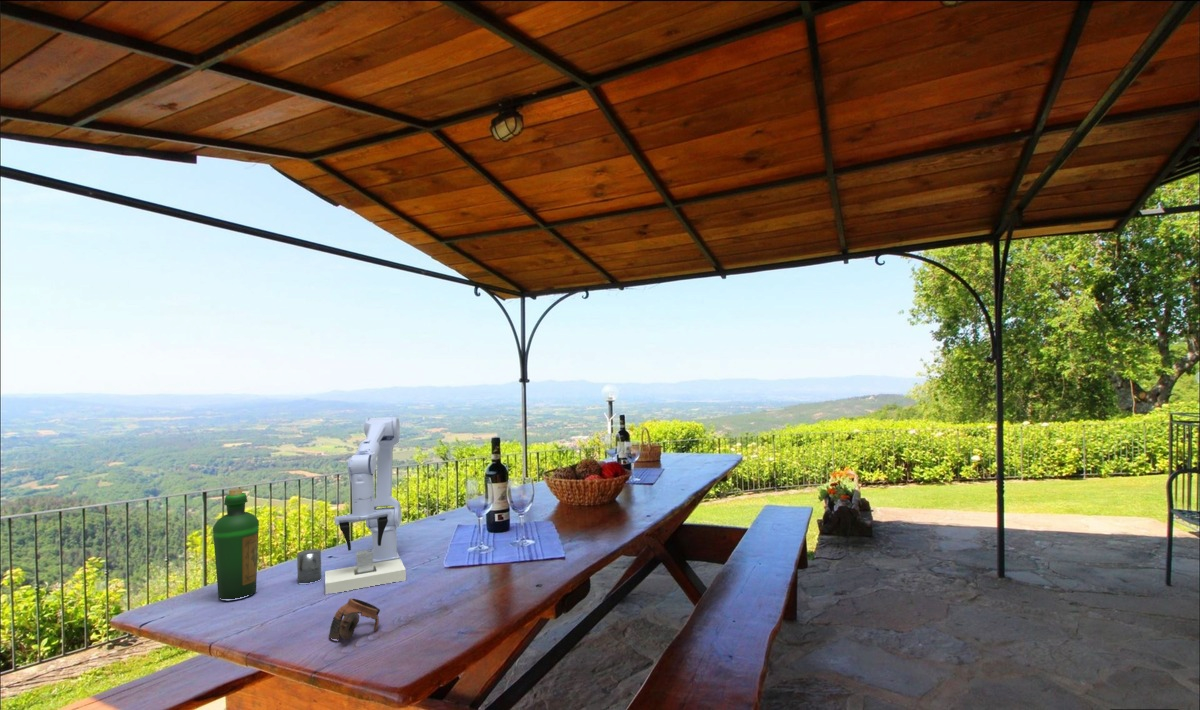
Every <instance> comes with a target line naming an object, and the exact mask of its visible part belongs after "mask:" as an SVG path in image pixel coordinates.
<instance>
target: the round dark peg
mask: <svg viewBox="0 0 1200 710" xmlns="http://www.w3.org/2000/svg"><path fill="white" fill-rule="evenodd" d="M296 559H297V560H296V561H297V562H296V565H297V571H296V573H297V584H298V583H310V582H315V581H318V580H320V579H321V578H322V549H319V548H312V549H311V548H310V549H306V550H302V551H299V552H298V553H296ZM321 580H322V579H321ZM321 580H320V581H321ZM318 582H319V581H318Z"/></svg>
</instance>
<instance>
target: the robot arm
mask: <svg viewBox="0 0 1200 710" xmlns="http://www.w3.org/2000/svg"><path fill="white" fill-rule="evenodd" d="M363 425H364V426H363V431H364V435H365V439H364V440H362V441H361V442H360V443H359V445H358V448H357V450H356V452H355V454H354V455H352V456H350V457H349V458H348V460H347V472H348V477H349V478H348V479H349V483H351V510H352V511H351V512H352V513H349V514H345V515H339V516H338V515H337V516H334V524H335V525H334V526H339V529H340V531H341V533H342V534H343V537H344V539H345V541H346V542H345V543H346V545H347V551H348V552H349V551H352V545H351V535H350V534H351V533H350V532H351V530H350V529H351V528H350V527H351V526H350V524H351V523H357V522H358V523H359V522H365V526H366V527H367V529H368V530H370V531H369V532H371V536H372V537H371V540H372V542H371V543H372V545H371V546H372V551H373V563H377V562H383V561H389V560H395V559H401V558H400V554H399V553H398V540H397V538H398V536H397V528H399V527H400V526H401V523H402V516H403V515H402V510H401V509H402V508H401V507H402V505H401V502H400V501H399V500H397V499H396V498H395V497H393V495H392V494H393V458H394V457H393V452H394V448H395V447H394V446H395V445H396V444H398V443H399V442H400V436H401V435H400V432H401V431H400V428H401V427H400V420H399V418H398V416H388V417H386V416H385V417H383V416H382V417H372V418H371V417H367V418H366V419H364V424H363ZM375 473H376V487H375V486H374V484H375V483H374V481H375V480H374V474H375ZM375 490H376V493H375Z"/></svg>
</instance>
